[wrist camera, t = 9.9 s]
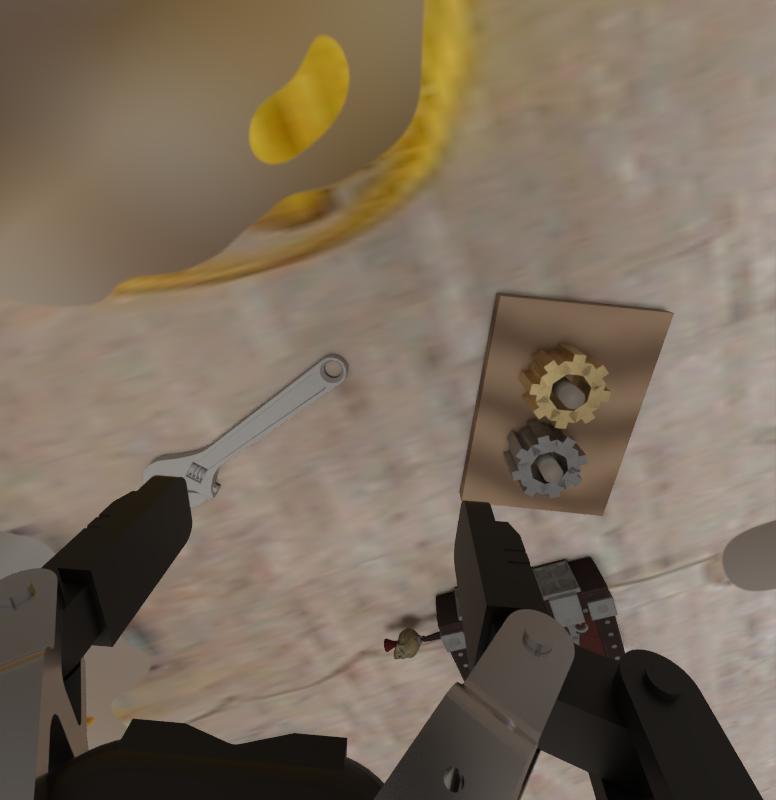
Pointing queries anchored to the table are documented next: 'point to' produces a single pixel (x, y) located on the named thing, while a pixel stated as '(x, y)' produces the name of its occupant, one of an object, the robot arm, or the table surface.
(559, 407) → the brass gear
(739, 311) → the table surface
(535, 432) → the steel gear
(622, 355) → the gear board
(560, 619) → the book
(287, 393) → the adjustable wrench
